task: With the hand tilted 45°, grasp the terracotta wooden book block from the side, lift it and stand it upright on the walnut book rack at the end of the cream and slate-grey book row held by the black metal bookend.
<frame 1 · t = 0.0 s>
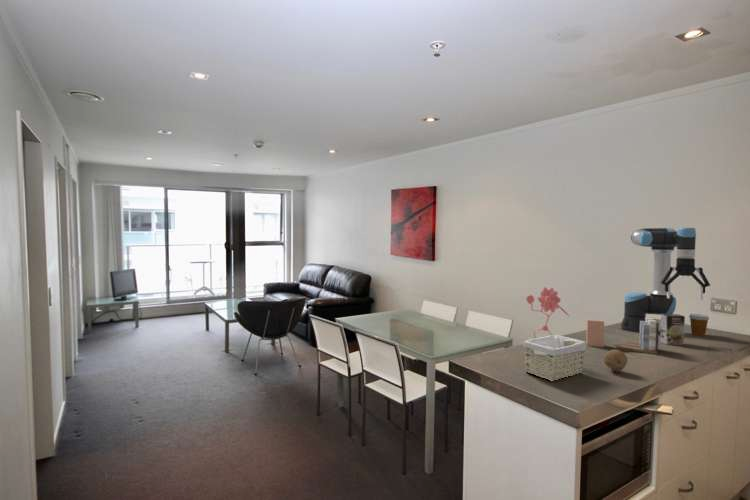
hand: (684, 298, 210), 28 cm above the worktop, fingers open, 13 cm apart
disposable coffee cup: (698, 335, 248), on the worktop
terracotta book: (594, 345, 225), on the worktop
book rack: (635, 348, 218), on the worktop
figurine: (549, 357, 204), on the worktop
natural sponge: (615, 372, 182), on the worktop
coffee box: (671, 343, 229), on the worktop
storage basket: (554, 374, 180), on the worktop
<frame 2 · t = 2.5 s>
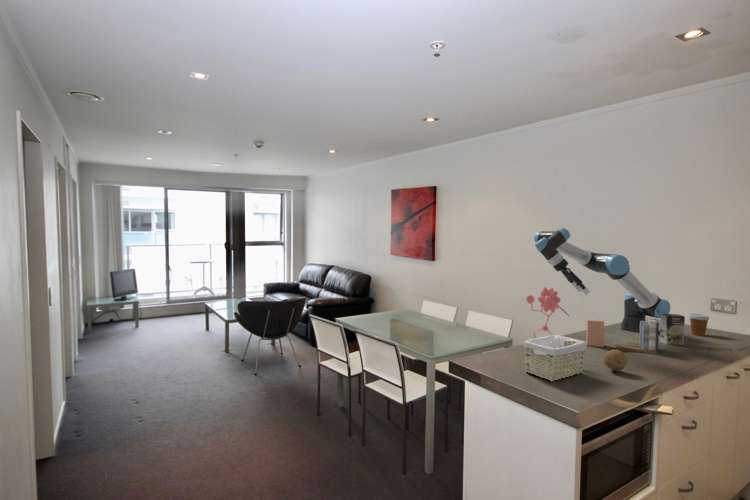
hand: (584, 292, 223), 30 cm above the worktop, fingers open, 13 cm apart
nothing on the worktop moved.
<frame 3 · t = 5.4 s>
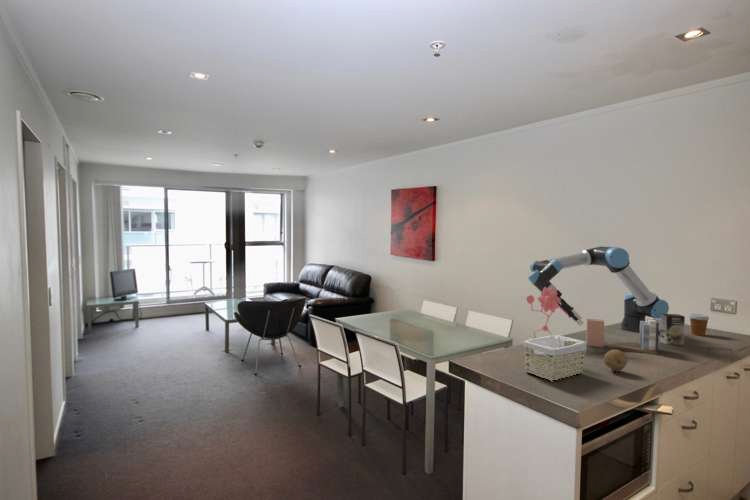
hand: (581, 321, 227), 12 cm above the worktop, fingers open, 13 cm apart
nothing on the worktop moved.
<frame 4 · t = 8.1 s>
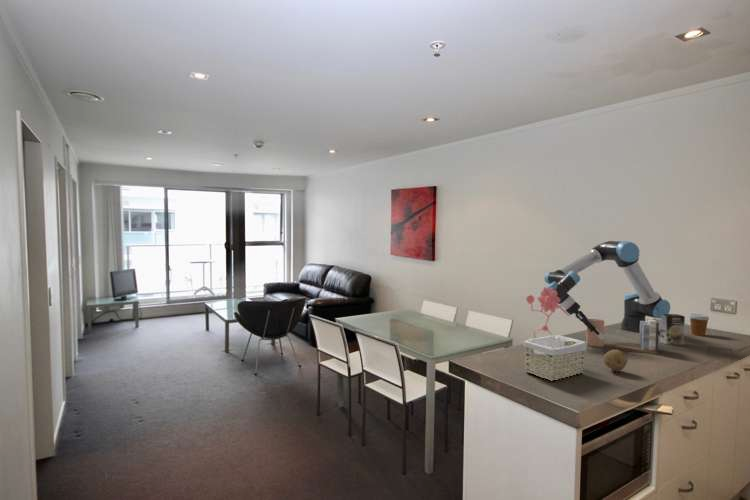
hand: (602, 337, 224), 5 cm above the worktop, fingers closed on terracotta book, 5 cm apart
terracotta book: (594, 345, 225), on the worktop, touching gripper
everything else where it was.
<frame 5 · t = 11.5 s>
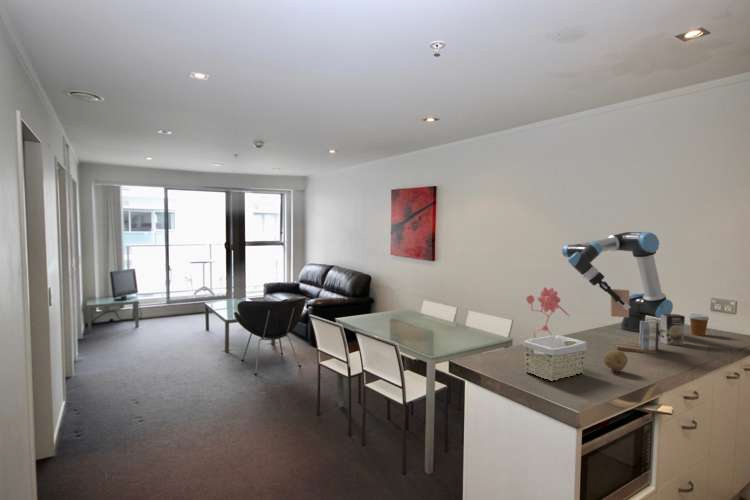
hand: (627, 307, 218), 22 cm above the worktop, fingers closed on terracotta book, 5 cm apart
terracotta book: (619, 316, 220), point 17 cm above the worktop, touching gripper
everything else where it was.
when the fingers open (7 cm above the worktop, at t = 15.1 s): terracotta book drops 1 cm, resting on book rack.
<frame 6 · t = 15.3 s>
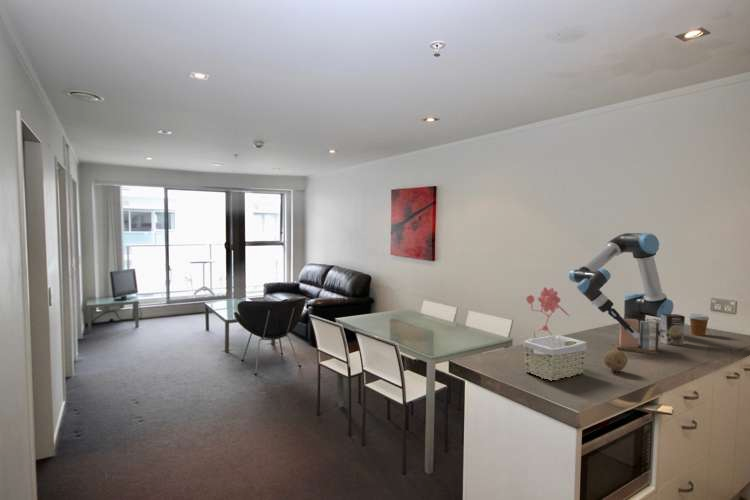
hand: (636, 335, 217), 8 cm above the worktop, fingers open, 7 cm apart
terracotta book: (628, 345, 219), point 1 cm above the worktop, touching book rack
everything else where it was.
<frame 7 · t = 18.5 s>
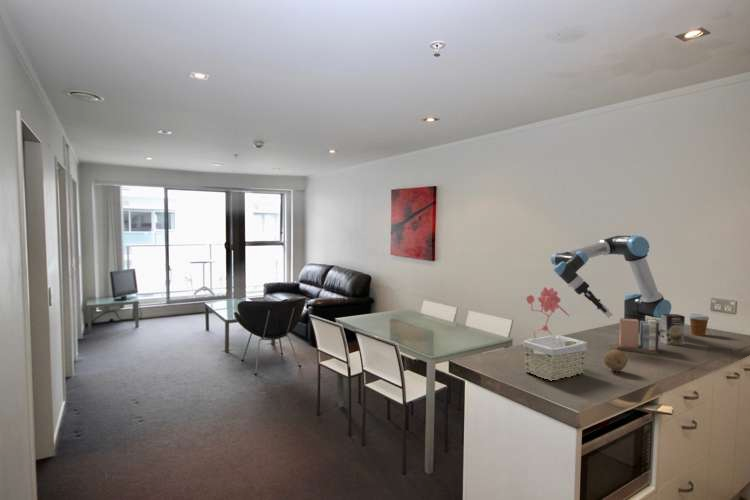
hand: (609, 314, 222), 18 cm above the worktop, fingers open, 13 cm apart
nothing on the worktop moved.
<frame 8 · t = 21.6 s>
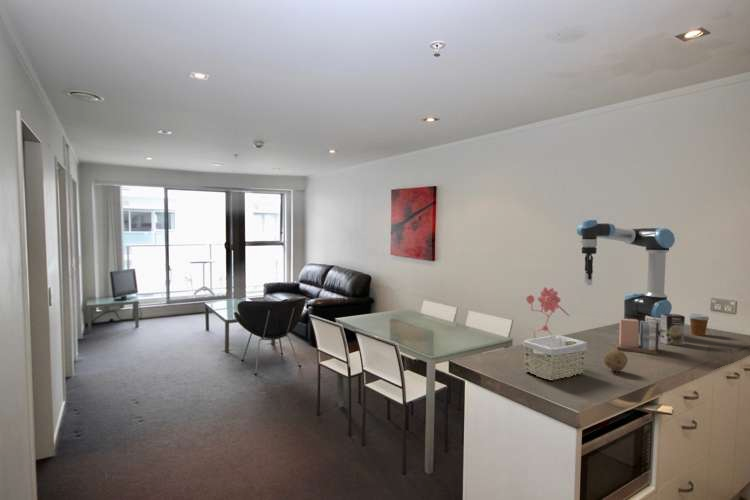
hand: (588, 283, 235), 33 cm above the worktop, fingers open, 13 cm apart
nothing on the worktop moved.
at the end: terracotta book 0.0 cm from the target spot on the book rack, point 1.5 cm above the book rack's base; terracotta book tilted 0°; the gripper is holding nothing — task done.
